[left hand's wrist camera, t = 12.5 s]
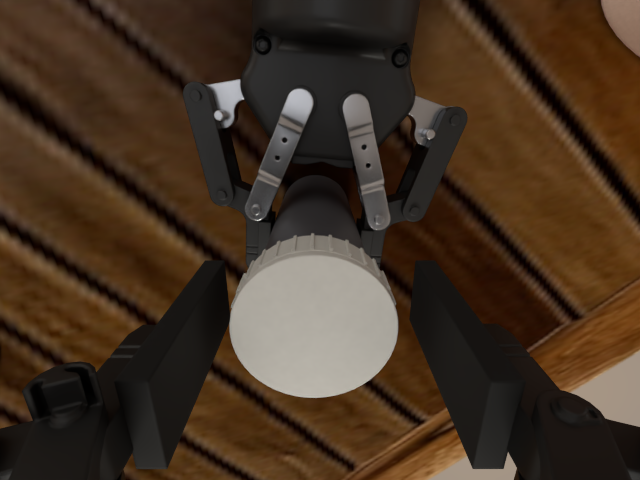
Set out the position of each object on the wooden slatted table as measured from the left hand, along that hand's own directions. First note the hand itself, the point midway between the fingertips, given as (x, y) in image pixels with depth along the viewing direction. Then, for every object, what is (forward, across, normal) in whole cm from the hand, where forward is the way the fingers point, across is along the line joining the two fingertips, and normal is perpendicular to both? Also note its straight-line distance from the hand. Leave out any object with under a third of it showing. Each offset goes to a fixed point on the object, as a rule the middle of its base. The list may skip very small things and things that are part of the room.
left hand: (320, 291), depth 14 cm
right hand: (+6, 0, -3) cm, 7 cm away
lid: (-2, 0, 0) cm, 2 cm away
